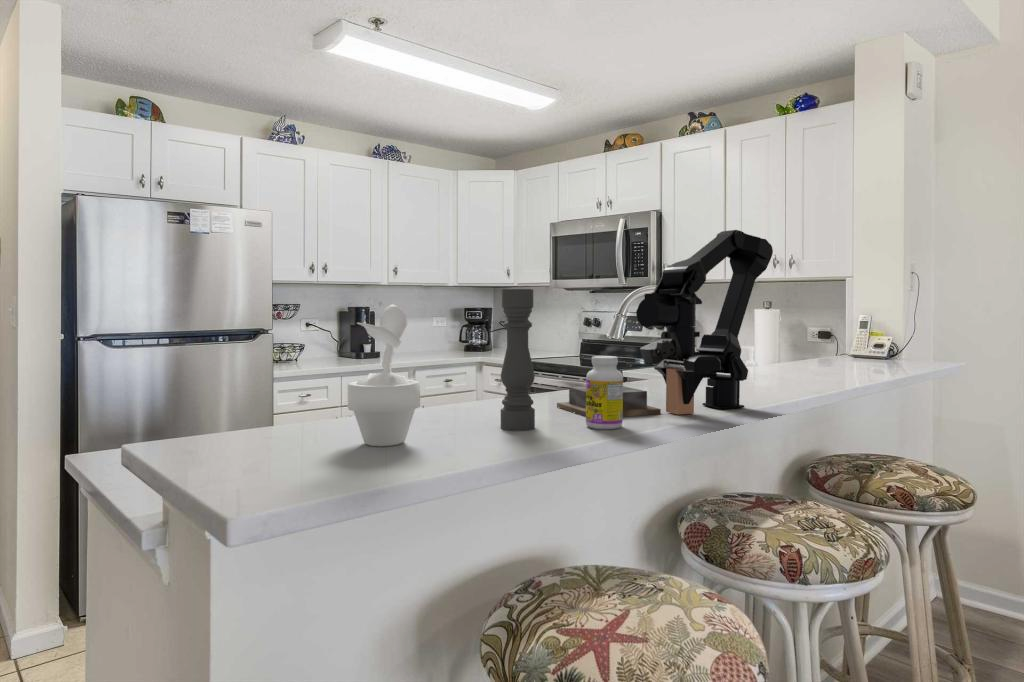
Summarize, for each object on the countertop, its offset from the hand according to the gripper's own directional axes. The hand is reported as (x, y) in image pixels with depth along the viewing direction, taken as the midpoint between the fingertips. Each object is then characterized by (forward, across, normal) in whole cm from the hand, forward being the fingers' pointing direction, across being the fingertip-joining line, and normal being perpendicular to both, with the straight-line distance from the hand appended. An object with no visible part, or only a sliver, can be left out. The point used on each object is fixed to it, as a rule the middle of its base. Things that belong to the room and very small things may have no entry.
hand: (679, 402), depth 135 cm
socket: (+2, -9, -12) cm, 15 cm away
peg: (+2, 0, 0) cm, 2 cm away
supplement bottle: (+2, +8, -22) cm, 24 cm away
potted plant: (+2, +8, -62) cm, 63 cm away
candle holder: (+2, +3, -37) cm, 37 cm away
